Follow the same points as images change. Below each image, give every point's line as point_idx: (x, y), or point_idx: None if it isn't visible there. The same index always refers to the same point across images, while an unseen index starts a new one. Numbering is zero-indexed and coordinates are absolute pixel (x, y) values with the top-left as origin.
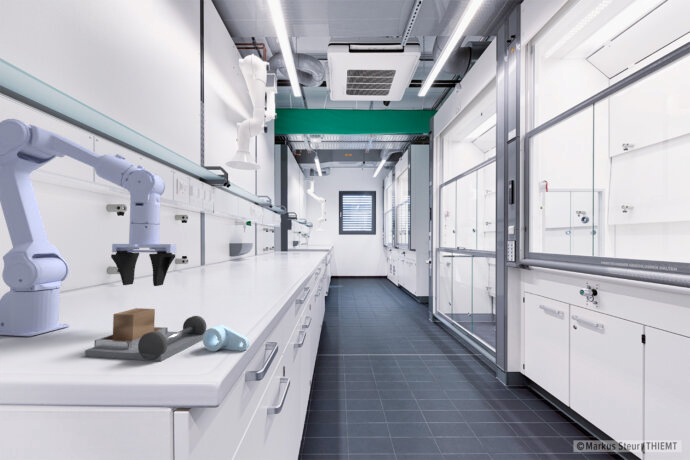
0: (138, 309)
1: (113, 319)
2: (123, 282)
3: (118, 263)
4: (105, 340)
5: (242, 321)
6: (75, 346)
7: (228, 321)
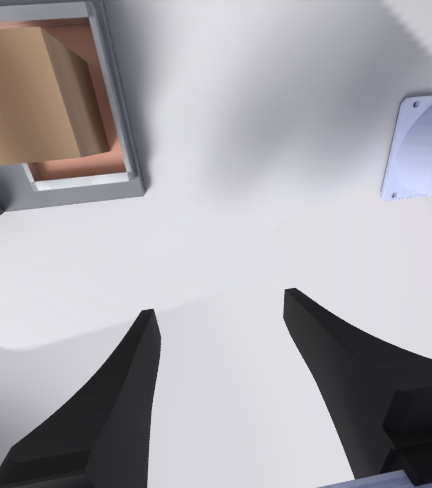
0: (45, 139)
1: (52, 36)
2: (295, 292)
3: (370, 348)
4: (55, 10)
5: (27, 344)
6: (217, 65)
7: (59, 335)
